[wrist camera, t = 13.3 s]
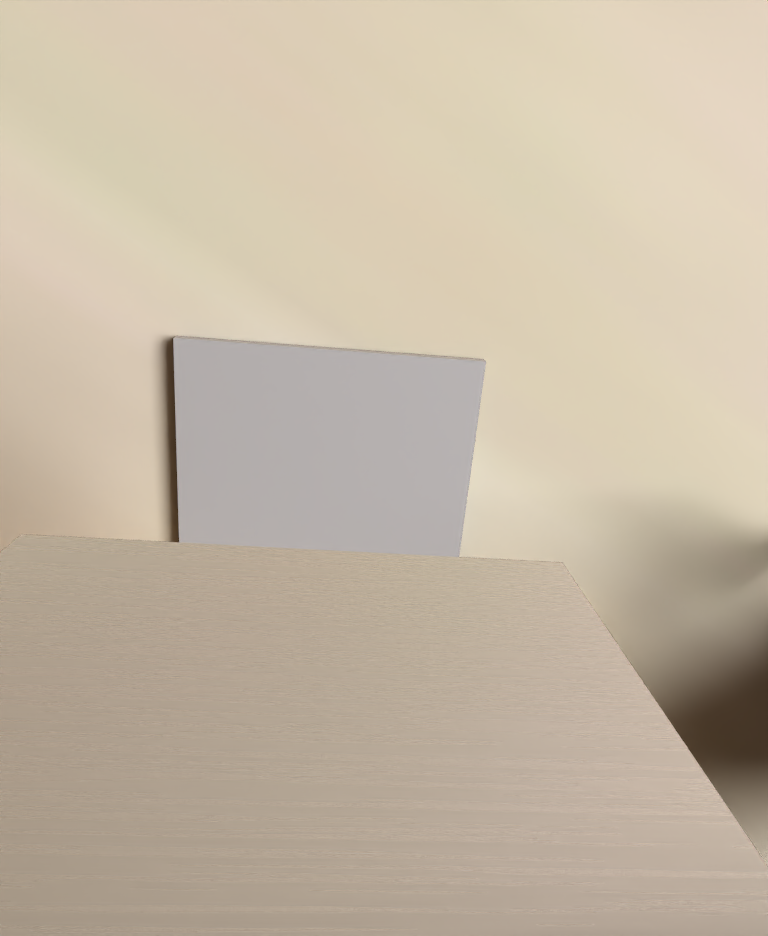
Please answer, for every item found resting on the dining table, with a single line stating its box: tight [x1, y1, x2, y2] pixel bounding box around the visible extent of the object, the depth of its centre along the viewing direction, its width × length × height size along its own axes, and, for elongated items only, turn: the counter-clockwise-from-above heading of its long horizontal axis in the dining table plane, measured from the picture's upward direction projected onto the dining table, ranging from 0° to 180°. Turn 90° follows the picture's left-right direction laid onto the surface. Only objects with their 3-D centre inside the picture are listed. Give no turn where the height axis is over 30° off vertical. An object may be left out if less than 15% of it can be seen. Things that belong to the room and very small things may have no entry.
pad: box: [173, 336, 486, 557], centre depth 19 cm, size 8×9×1 cm
